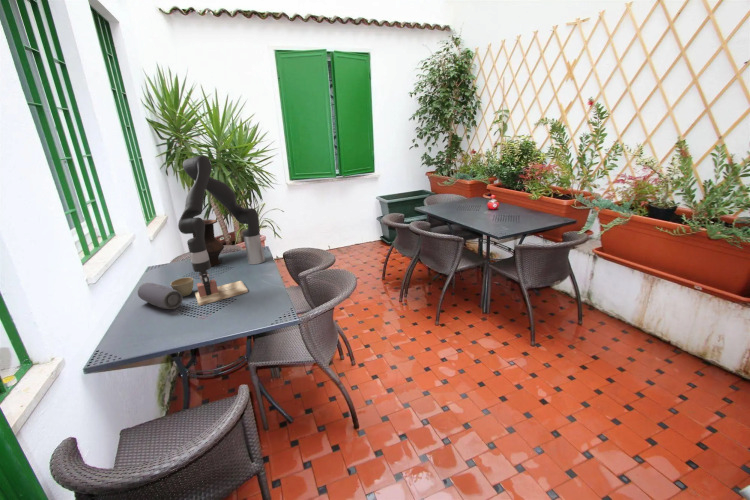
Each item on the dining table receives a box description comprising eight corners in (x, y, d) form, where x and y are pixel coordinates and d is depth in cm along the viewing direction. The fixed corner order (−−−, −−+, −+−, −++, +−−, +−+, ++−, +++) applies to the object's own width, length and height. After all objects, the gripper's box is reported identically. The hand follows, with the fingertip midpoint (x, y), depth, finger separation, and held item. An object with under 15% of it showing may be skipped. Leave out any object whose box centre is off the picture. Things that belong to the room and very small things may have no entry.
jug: (201, 260, 218) (190, 214, 209) (230, 257, 220) (221, 211, 210) (187, 272, 199) (174, 222, 189) (220, 269, 200) (209, 219, 190)
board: (241, 283, 178) (241, 280, 178) (248, 292, 167) (247, 289, 166) (195, 295, 167) (194, 292, 167) (199, 305, 156) (198, 302, 156)
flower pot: (199, 293, 169) (196, 280, 167) (178, 300, 163) (174, 287, 160) (192, 288, 176) (188, 275, 174) (171, 295, 169) (167, 282, 167)
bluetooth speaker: (186, 306, 157) (181, 286, 154) (166, 315, 149) (160, 294, 146) (159, 297, 168) (154, 278, 165) (139, 305, 161) (133, 286, 157)
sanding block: (217, 290, 168) (214, 279, 166) (218, 293, 164) (216, 282, 162) (199, 295, 164) (196, 283, 162) (200, 298, 160) (197, 286, 158)
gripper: (211, 262, 154) (219, 296, 160) (206, 254, 166) (214, 286, 171) (193, 266, 150) (201, 300, 156) (189, 257, 162) (198, 290, 167)
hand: (208, 293), depth 164 cm, fingers closed on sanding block, 4 cm apart
